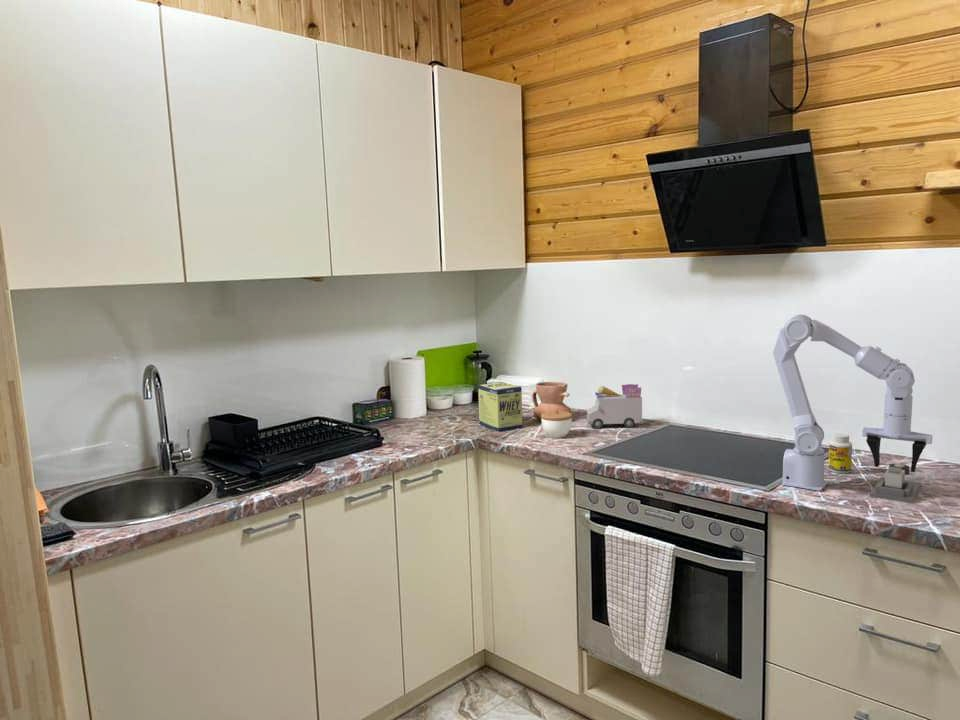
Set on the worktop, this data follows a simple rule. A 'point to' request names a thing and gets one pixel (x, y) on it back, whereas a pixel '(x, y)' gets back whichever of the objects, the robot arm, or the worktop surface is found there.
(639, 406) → the toy vehicle
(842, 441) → the supplement bottle
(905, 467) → the wheel
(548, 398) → the ceramic jug
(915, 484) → the chassis
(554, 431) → the lidded jar
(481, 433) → the worktop surface
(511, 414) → the protein box
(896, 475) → the grey rectangular block
